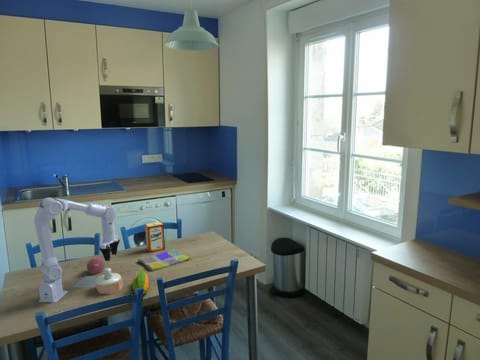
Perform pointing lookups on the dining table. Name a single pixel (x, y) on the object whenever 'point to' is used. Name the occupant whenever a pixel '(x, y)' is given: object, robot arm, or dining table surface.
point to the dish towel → (163, 260)
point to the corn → (141, 281)
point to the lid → (107, 278)
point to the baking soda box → (155, 236)
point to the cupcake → (95, 265)
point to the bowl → (110, 287)
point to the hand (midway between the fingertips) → (110, 257)
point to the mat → (87, 282)
